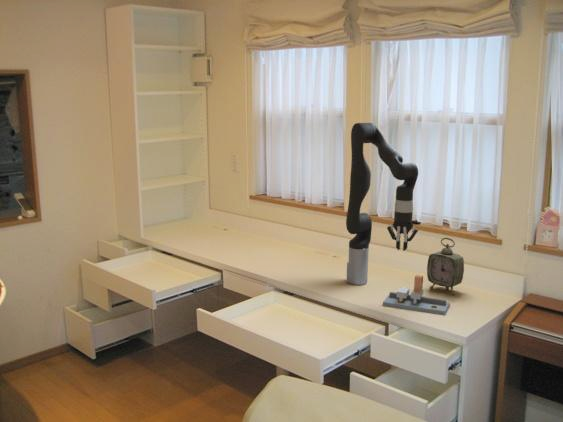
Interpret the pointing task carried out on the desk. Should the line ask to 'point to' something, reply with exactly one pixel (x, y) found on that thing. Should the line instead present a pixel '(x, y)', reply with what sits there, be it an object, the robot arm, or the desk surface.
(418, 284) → the sliding leg
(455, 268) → the tabletop clock
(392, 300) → the hole plate with beam
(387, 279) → the desk surface
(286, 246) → the desk surface
